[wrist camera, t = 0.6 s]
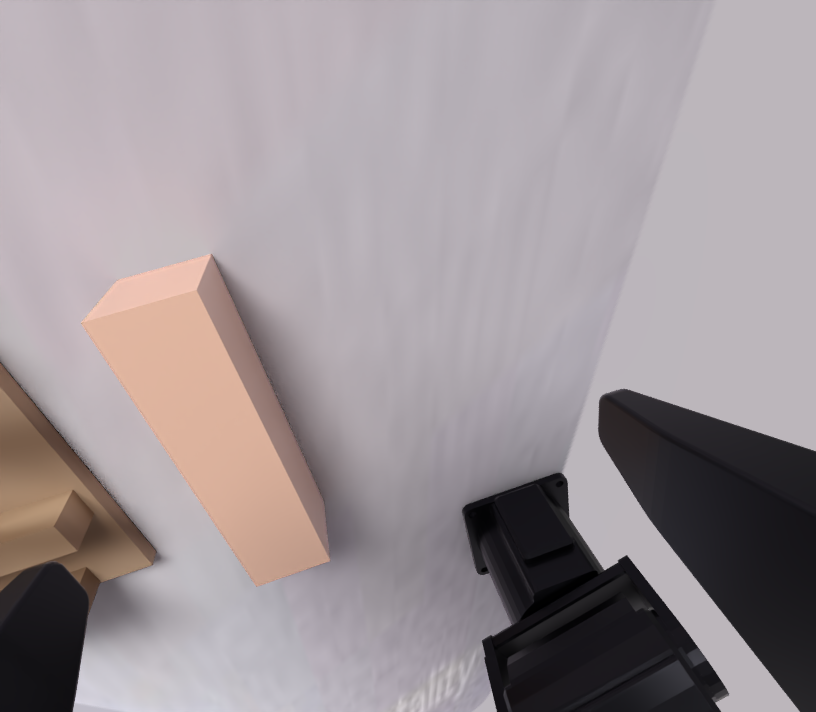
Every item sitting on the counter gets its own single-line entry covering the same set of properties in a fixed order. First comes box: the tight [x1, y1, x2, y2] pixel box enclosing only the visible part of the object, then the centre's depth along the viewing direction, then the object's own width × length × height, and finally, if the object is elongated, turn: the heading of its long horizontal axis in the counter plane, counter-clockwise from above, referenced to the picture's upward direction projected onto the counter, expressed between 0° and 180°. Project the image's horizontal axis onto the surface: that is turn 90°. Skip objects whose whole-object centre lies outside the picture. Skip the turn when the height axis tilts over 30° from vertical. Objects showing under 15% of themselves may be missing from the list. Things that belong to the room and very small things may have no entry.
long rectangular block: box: [81, 254, 330, 587], centre depth 20 cm, size 14×4×4 cm, turn 13°
